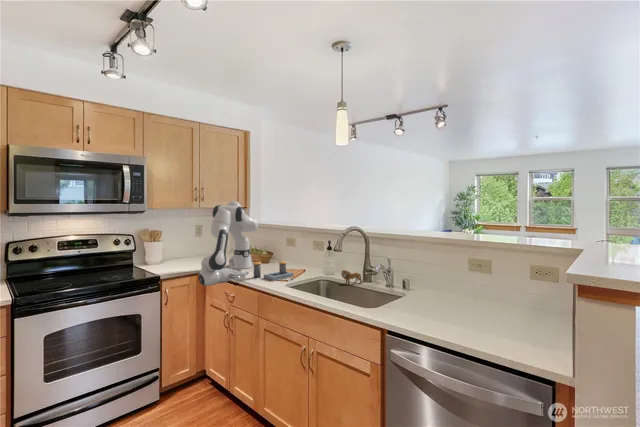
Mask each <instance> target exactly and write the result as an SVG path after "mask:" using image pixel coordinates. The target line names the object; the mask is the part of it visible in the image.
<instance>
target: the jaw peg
mask: <svg viewBox="0 0 640 427" xmlns="http://www.w3.org/2000/svg"><path fill="white" fill-rule="evenodd" d="M252 264H253V278H254V279H260V278H261V274H262V273H261V270H262V269H261V265H262V262H261V261H256V262H252Z"/></svg>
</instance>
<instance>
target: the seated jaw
mask: <svg viewBox="0 0 640 427" xmlns="http://www.w3.org/2000/svg"><path fill="white" fill-rule="evenodd" d="M287 263H288V262H287V261H278V264H279V267H278V268H279V271H278V272H279V273H280V274H286V271H287Z"/></svg>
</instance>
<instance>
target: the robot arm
mask: <svg viewBox="0 0 640 427" xmlns="http://www.w3.org/2000/svg"><path fill="white" fill-rule="evenodd" d="M212 209H213V210H212V217H213V220H212V222H211V223H212V224H211V227H210V233H211V235H212V236H213V237H214V238H216V243H215V244H216V245H215V250H214V252H213V253H212V254H211V255H208V256H205V257H203V259H202V260H201V262H200V263H201V264H200V265H201V267H200V272H199V273H198V281H199V283H200V285H201V286H205V287H208V286H215V285H218V284H225V283H229V282H230V281H231V280H242V279H244V280H245V279H246V277H247V276H249V271H244V272H243V271H241V270H244V269H251V268H252V267H254V265H253V262H252V255H251V249H250V239H249V238H248V237H247V236H244V235H243V233H250V232H255V231H257V230H258V228H259V222H258V220H257V218H253V217H251V216H249V215H248V214H246V212H245V209H244V208H243V207H242V205H241V204H240V203H239V201H236V200H231V201H229V202H228V203H227V204H226V205H220V204H218V205H215V206H214V207H213V208H212ZM229 233H230V234H231V236H232V238H233V240H234V250H233V255H232V256H231V257H230V258H229V260H228V264H227V255H226V254H227V253H226V252H227V247H228V240H229Z"/></svg>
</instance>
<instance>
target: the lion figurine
mask: <svg viewBox="0 0 640 427" xmlns="http://www.w3.org/2000/svg"><path fill="white" fill-rule="evenodd" d="M340 274H341V278H342V279H344V280H345V284H347V285H350V282H351V281H350V280H353V279H355V281H354V283H357V282H358V281H359V284H362V283H363V280H362V275H361V273H359V272H352V273H351V272H350V271H348V270H347V269H342V270H341V273H340Z"/></svg>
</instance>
